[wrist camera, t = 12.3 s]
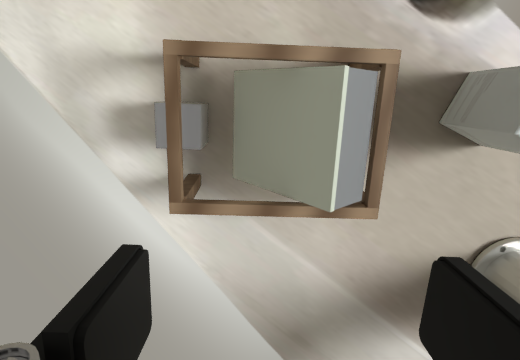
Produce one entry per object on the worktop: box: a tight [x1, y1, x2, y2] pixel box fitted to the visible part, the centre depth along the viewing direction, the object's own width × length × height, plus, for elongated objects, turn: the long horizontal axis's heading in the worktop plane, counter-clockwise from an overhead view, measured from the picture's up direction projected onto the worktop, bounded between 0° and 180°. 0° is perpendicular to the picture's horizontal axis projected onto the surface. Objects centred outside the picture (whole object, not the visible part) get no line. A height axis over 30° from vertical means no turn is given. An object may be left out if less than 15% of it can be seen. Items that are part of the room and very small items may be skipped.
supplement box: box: [439, 66, 520, 154], centre depth 35 cm, size 7×7×13 cm
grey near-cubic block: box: [154, 102, 208, 150], centre depth 38 cm, size 5×5×6 cm
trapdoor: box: [233, 65, 378, 212], centre depth 35 cm, size 15×13×5 cm
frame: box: [163, 39, 401, 219], centre depth 36 cm, size 22×17×11 cm
